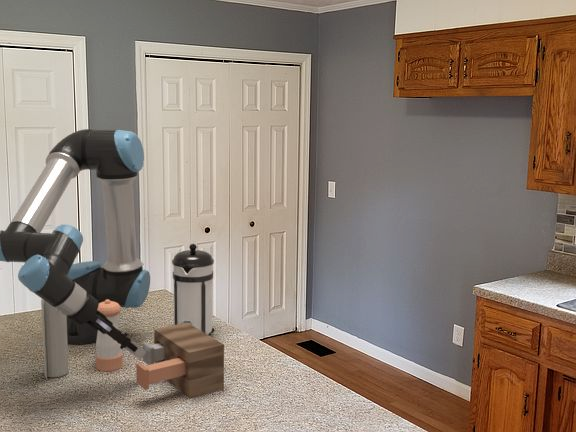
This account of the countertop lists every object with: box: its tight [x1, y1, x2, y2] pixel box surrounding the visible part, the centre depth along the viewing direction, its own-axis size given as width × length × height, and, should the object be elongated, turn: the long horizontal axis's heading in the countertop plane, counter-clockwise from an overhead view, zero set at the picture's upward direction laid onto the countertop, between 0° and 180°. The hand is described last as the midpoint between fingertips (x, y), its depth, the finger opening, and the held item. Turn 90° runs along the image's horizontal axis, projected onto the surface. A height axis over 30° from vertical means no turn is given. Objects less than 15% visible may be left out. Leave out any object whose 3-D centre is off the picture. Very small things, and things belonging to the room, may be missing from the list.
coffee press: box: [171, 243, 215, 335], centre depth 198 cm, size 17×16×30 cm
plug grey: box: [142, 341, 165, 365], centre depth 170 cm, size 5×14×5 cm, turn 127°
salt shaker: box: [94, 300, 124, 372], centre depth 174 cm, size 7×7×19 cm
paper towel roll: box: [40, 298, 69, 381], centre depth 168 cm, size 7×6×21 cm
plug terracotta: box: [135, 357, 186, 391], centre depth 157 cm, size 5×14×5 cm, turn 127°
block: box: [153, 323, 225, 399], centre depth 167 cm, size 20×10×12 cm, turn 37°
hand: (142, 354), depth 165 cm, fingers closed
